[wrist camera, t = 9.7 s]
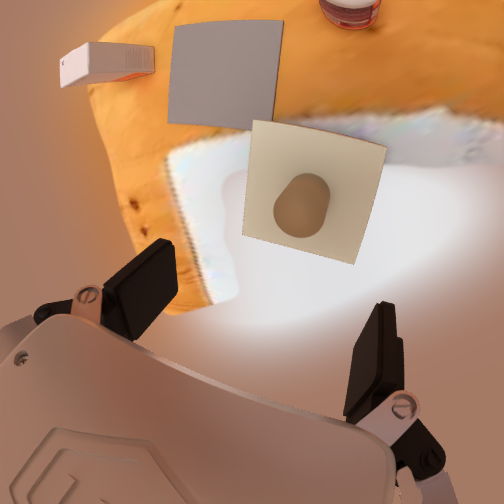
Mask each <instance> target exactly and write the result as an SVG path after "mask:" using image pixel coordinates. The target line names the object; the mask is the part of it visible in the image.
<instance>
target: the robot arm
mask: <svg viewBox="0 0 504 504" xmlns="http://www.w3.org/2000/svg"><path fill="white" fill-rule="evenodd" d="M103 285H104V288H103V289H102V290H101V288H99V287H98V286H96V285H87V286H84V287H81V288H80V289H79V290H77V292H76V293H75V295H74V298H73V299H70V300H65V301H59V302H53V303H47V304H44V305H42V306H40V307H39V308H38V309H37V310H36V311H35V313H34V316H33V317H32V315H28V316H26V317H24V318H22V319H19V320H17V321H15V322H12V323H10V324H8V325H6V326H4V327H2V328H1V329H0V504H392V501H393V496H394V490H395V486H397V487H399V488H400V491H401V495H400V499H401V504H458V501H457V498H456V495H455V492H454V489H453V486H452V483H451V480H450V477H449V475H448V472H446V473H445V472H444V469H443V467H444V465H445V462H446V455H445V451H444V450H443V448H442V447H441V445H440V444H439V443H438V442H437V441H436V439H435V438H434V437H433V436H432V434H431V433H430V432H429V431H428V430H427V428H426V427H425V426H424V425H423V424H422V422H421V421H420V420H419V419H418V416H419V414H420V404H419V401H418V399H417V398H416V397H415V396H414V395H413V394H412V393H410V392H408V391H404V352H403V339H402V338H400V337H397V329H396V315H395V314H396V313H395V305H394V304H392V303H388V302H384V301H382V302H381V303H380V304H378V303H377V304H376V305H375V307H374V309H373V311H372V313H371V315H370V317H369V319H368V321H367V323H366V325H365V327H364V328H363V330H362V332H361V334H360V336H359V338H358V340H357V342H356V344H355V346H354V349H353V355H352V362H351V369H350V376H349V383H348V389H347V395H346V401H345V406H344V411H343V416H347V417H346V422H344V421H341V420H337V419H334V418H330V417H327V416H323V415H319V414H315V413H312V412H308V411H305V410H301V409H298V408H294V407H291V406H288V405H284V404H281V403H278V402H275V401H271V400H268V399H265V398H262V397H259V396H256V395H253V394H250V393H248V392H245V391H242V390H239V389H237V388H234V387H231V386H229V385H226V384H223V383H221V382H218V381H216V380H213V379H211V378H208V377H206V376H203V375H201V374H199V373H196V372H194V371H192V370H189V369H187V368H185V367H182V366H180V365H178V364H176V363H174V362H172V361H170V360H167V359H165V358H163V357H161V356H159V355H157V354H155V353H153V352H151V351H149V350H147V349H145V348H143V347H141V346H139V345H137V344H135V343H133V341H134V340H137V339H138V338H139V337H140V336H141V335H142V334H143V333H144V331H145V330H146V329H147V328H148V327H149V326H150V324H151V323H152V322H153V321H154V320H155V319H156V317H157V316H158V315H159V314H160V313H161V312H162V311H163V309H164V308H165V307H166V306H167V305H168V304H169V303H170V301H171V300H172V299H173V298H174V297H175V296H176V294H177V292H178V282H177V271H176V259H175V247H174V245H172V242H171V241H169V240H166V239H162V238H159V239H157V240H156V241H155V242H154V243H152V244H151V245H150V246H149V247H147V248H146V249H145V250H144V251H142V252H141V253H140V254H139V255H138V256H136V257H135V258H134V259H133V260H132V261H130V262H129V263H128V264H127V265H125V266H124V267H123V268H122V269H121V270H120V271H118V272H117V273H116V274H115V275H114V276H113V277H111V278H110V279H109V280H108V281H107V282H106V283H104V284H103Z"/></svg>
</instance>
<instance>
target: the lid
mask: <svg viewBox="0 0 504 504" xmlns="http://www.w3.org/2000/svg"><path fill="white" fill-rule="evenodd" d="M386 152H387V147H386V146H383V145H379V144H376V143H373V142H369V141H365V140H362V139H358V138H354V137H350V136H346V135H342V134H337V133H333V132H329V131H324V130H319V129H314V128H309V127H304V126H299V125H293V124H287V123H281V122H274V121H267V120H260V119H254V120H253V126H252V135H251V145H250V155H249V166H248V176H247V187H246V197H245V208H244V219H243V230H242V235H245V236H249V237H252V238H256V239H261V240H264V241H268V242H271V243H275V244H279V245H283V246H287V247H290V248H294V249H298V250H302V251H305V252H309V253H313V254H316V255H320V256H324V257H328V258H331V259H335V260H339V261H342V262H346V263H350V264H353V265H354V263H355V260H356V257H357V254H358V251H359V248H360V245H361V242H362V239H363V236H364V233H365V230H366V227H367V223H368V220H369V217H370V213H371V210H372V206H373V203H374V199H375V196H376V192H377V188H378V184H379V180H380V177H381V173H382V169H383V165H384V160H385V156H386Z"/></svg>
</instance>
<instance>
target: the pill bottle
mask: <svg viewBox="0 0 504 504" xmlns="http://www.w3.org/2000/svg"><path fill="white" fill-rule="evenodd" d="M319 2H320V5H321V8H322V11H323V13H324V15H325V16H326V17H327V18H328V19H329V20H330V21H331V22H332V23H334V24H335V25H337V26H340V27H342V28H346V29H352V30H357V29H363V28H366V27H368V26H370V25H371V24H372V23H373V22H374V21H375V19H376V17H377V14H378V11H379V7H380V3H381V0H319Z"/></svg>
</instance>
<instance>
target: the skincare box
mask: <svg viewBox="0 0 504 504" xmlns="http://www.w3.org/2000/svg"><path fill="white" fill-rule="evenodd" d="M154 71H155V67H154V47H152V46H143V45H134V44H124V43H108V42H87V43H85V44H84V45H82V46H80V47H79V48H77V49H75V50H73V51H71V52H70V53H69V54H67V55H66V56H64V57H63V58H61V59H60V83H61V88H65V87H72V86H79V85H87V84H96V83H106V82H119V81H126V80H129V79H132V78H135V77H139V76H142V75H146V74H150V73H154Z"/></svg>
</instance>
